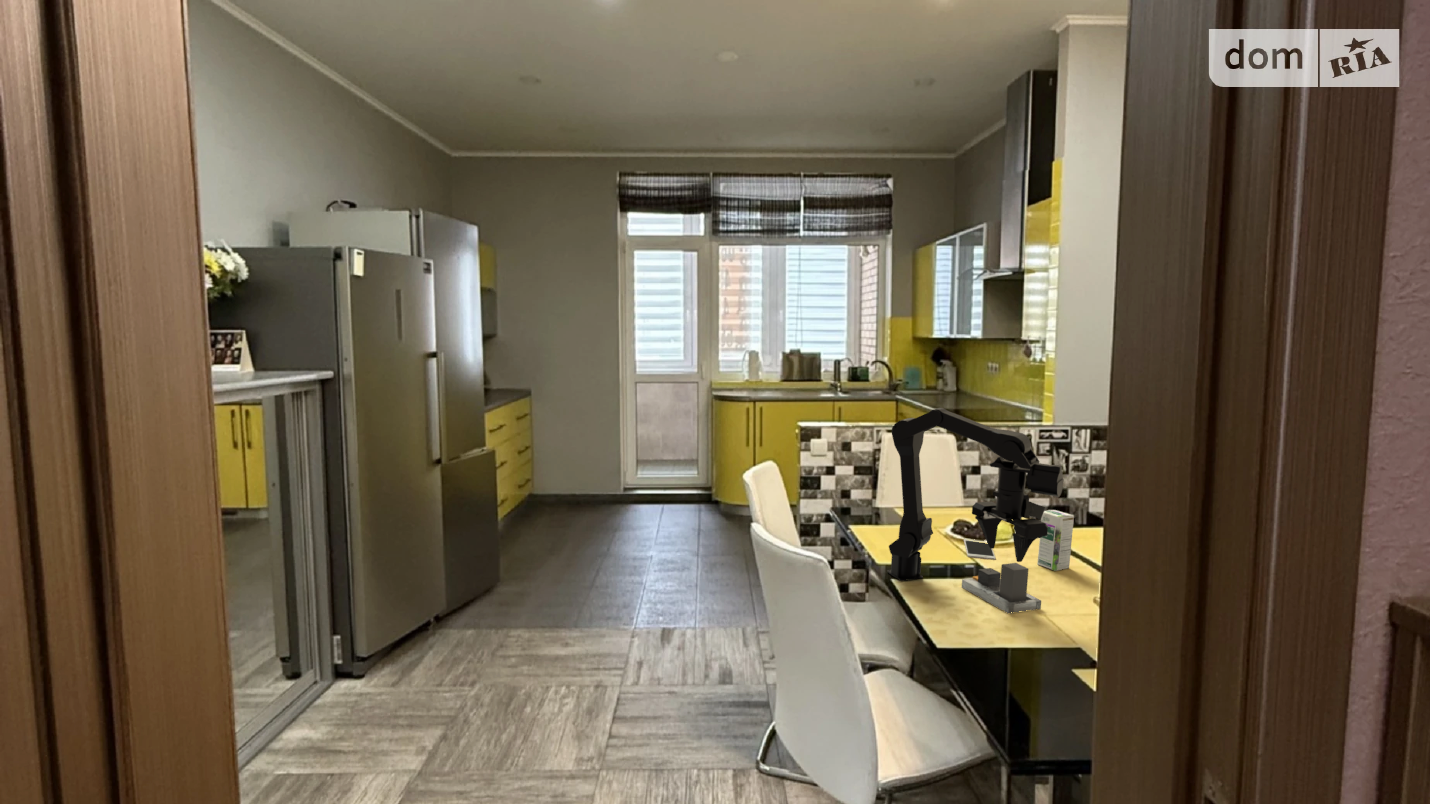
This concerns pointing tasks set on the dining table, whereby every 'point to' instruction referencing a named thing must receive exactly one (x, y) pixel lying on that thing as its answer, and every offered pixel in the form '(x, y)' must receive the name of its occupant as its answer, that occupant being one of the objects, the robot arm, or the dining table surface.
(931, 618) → the dining table surface
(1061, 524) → the syrup box
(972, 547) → the smartphone
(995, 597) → the grey board with hole
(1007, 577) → the plug
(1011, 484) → the robot arm
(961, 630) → the dining table surface
